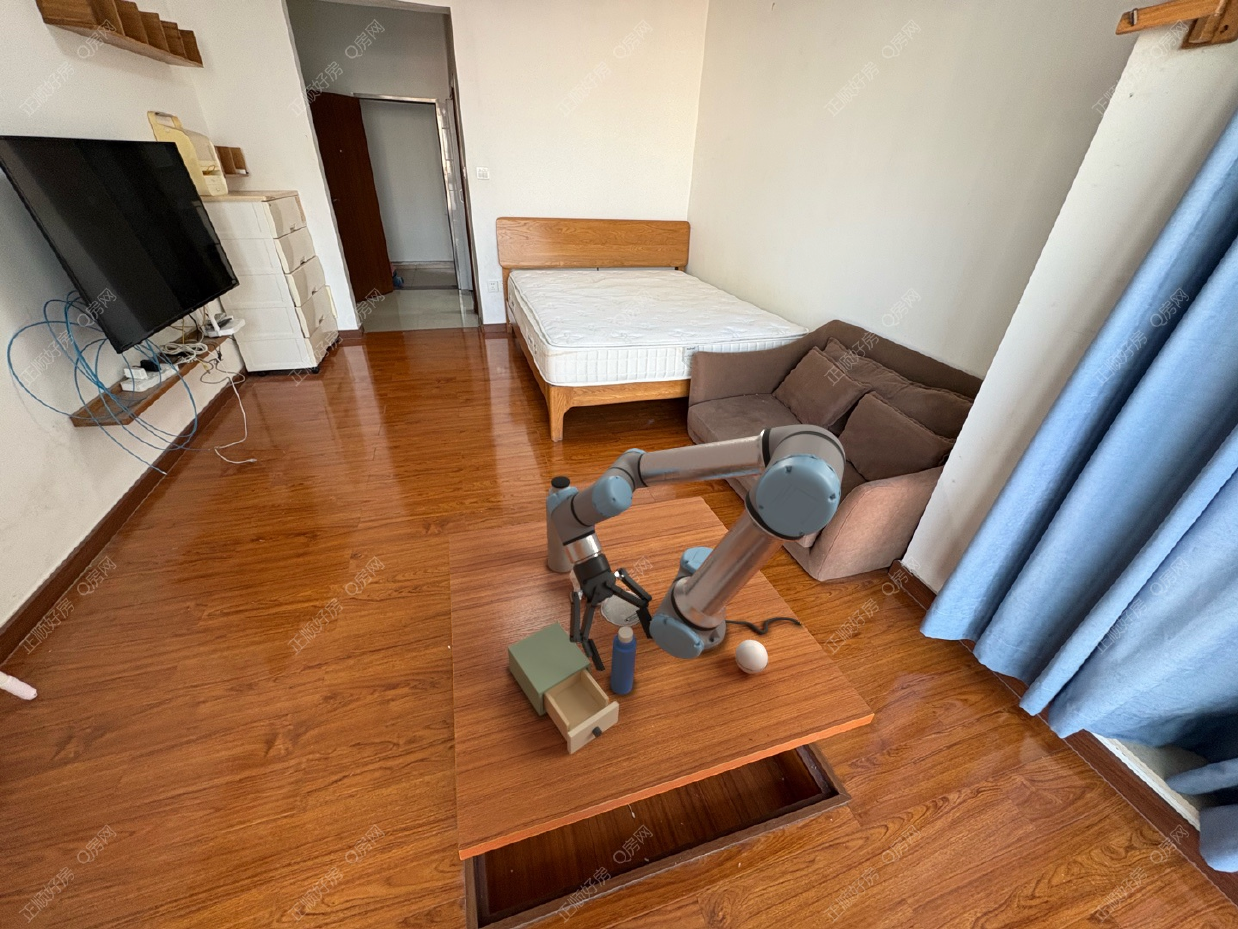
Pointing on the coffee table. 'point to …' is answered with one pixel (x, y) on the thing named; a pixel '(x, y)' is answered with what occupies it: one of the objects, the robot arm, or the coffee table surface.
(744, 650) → the white oval solid
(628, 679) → the bottle
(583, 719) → the drawer
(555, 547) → the thermos bottle
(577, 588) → the white sculpted piece
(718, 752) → the coffee table surface
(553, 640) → the cabinet
